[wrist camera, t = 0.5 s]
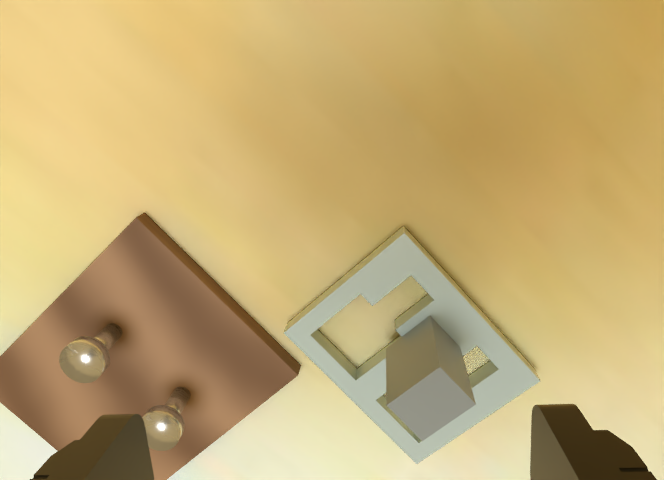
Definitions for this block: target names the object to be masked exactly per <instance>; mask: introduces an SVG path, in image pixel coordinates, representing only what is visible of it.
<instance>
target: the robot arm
mask: <svg viewBox="0 0 664 480" xmlns="http://www.w3.org/2000/svg"><path fill="white" fill-rule="evenodd" d="M530 476H531V480H657V479H656V478H655V477H654V475H653V474H652V473H651V472H648V469H647V466H646V465H645V463H644V462H643V461H642V460H641V458H640V457H639V456H638V454H637V453H636V452H635V450H634V449H633V448H632V447H631V446H630V445H628V444H627V443H626V442H624V441H623V440H621V439H620V438H618V437H617V436H616V435H614V434H613V433H611V432H610V431H608V430H593V429H592V428H591V426H590V425H589V423H588V422H587V420H586V419H585V417H584V416H583V414H582V413H581V411H580V410H579V409H578V407H577V406H576V405H575V404H555V405H535V406H534V407H533V410H532V425H531V466H530ZM30 480H154V473H153V468H152V462H151V457H150V451H149V446H148V440H147V434H146V429H145V424H144V420H143V418H142V417H141V415H139V414H110V415H102V416H100V417H99V418H98V419H97V420H96V421H95V422H94V424H93V425H92V426H91V427H90V428H89V429H88V431H87V432H86V433H85V434H84V435H83V437H82V438H81V439H80V440H74V441H73V442H71V443H70V444H68V445H67V446H65V447H64V448H62V449H61V450H59V451H58V452H56V453H55V454H53V455H52V456H51V457H50V458H49V459H48V460H47V461H46V462H45V463H44V464H43V465H42V467H41V468H40V469H39V470H38V471H37V472H36V473H35V474H34V478H33V479H30Z"/></svg>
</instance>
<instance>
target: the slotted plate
mask: <svg viewBox="0 0 664 480" xmlns="http://www.w3.org/2000/svg"><path fill="white" fill-rule="evenodd" d="M409 276H412V277H413V278H414V279H415V280H416V281H417V282H418V283H419V284H420V285H421V286H422V287H423V288H424V290H425V291H426V292H427V293H428V295H426V296H425V297H424V298H422V299H421V300H420V301H419V302H417V303H416V304H415V305H413V306H412V307H411V308H410V309H408V310H407V311H406V312H404V313H403V314H402V315H401V316H399V317H398V318H397V319H395V330H396V331H397V332H398V333H399V334H400V336H399V337H398V338H396V339H395V340H394V341H393V342H391V343H390V344H389V345H387V346H386V347H385V348H383V349H382V350H381V351H379V352H378V353H377V354H376V355H374V356H373V357H372V358H370V359H369V360H368V361H366V362H365V363H364V364H363V365H361V366H360V367H359V368H356V367H355V366H354V365H353V364H352V363H351V362H350V361H349V360H348V359H347V358H346V357H345V356H344V355H343V354H342V353H341V352H340V351H339V350H338V349H337V348H336V347H335V346H334V345H333V344H332V343H331V342H330V341H329V340H328V339H327V338H326V337H325V336H324V335H323V334H322V333H321V332H320V331H319V330H318V328H319V327H321V326H322V325H323V324H324V323H325V322H327V321H328V320H329V319H330V318H332V317H333V316H334V315H335V314H337V313H338V312H339V311H340V310H341V309H343V308H344V307H345V306H346V305H348V304H349V303H350V302H351V301H352V300H354V299H355V298H356V297H357V296H359V295H360V294H361V295H362V296H363V297H364V298H365V299H366V300H367V301H368V302H369V303H370V304H371V305H372V306H373V305H374V304H376V303H377V302H378V301H379V300H381V299H382V298H383V297H384V296H386V295H387V294H388V293H389V292H391V291H392V290H393V289H394V288H396V287H397V286H398V285H399V284H401V283H402V282H403V281H404V280H406V279H407V278H408V277H409ZM284 334H285V335H286V336H287V337H288V338H289V339H290V340H291V341H292V342H293V343H294V344H295V345H296V346H297V347H298V348H299V349H300V350H301V351H302V352H303V353H304V354H305V355H306V356H307V357H309V358H310V359H311V360H312V361H313V362H314V363H315V364H316V365H317V366H318V367H319V368H320V369H321V370H322V371H323V372H324V373H325V374H326V375H327V376H328V377H329V378H330V379H331V380H332V381H333V382H334V383H335V384H336V385H337V386H338V387H339V388H340V389H341V390H342V391H343V392H344V393H345V394H346V395H347V396H348V397H349V398H350V399H351V400H352V401H353V402H354V403H355V404H356V405H357V406H358V407H359V408H360V409H361V410H362V411H363V412H364V413H365V414H366V415H367V416H368V417H369V418H370V419H371V420H372V421H373V422H374V423H375V424H376V425H377V426H379V427H380V428H381V429H382V430H383V431H384V432H385V433H386V434H387V435H388V436H389V437H390V438H391V439H392V440H393V441H394V442H395V443H396V444H397V445H398V446H399V447H400V448H401V449H402V450H403V451H404V452H405V453H406V454H407V455H408V456H409V457H410V458H411V459H412V460H413V461H414V462H415V463H416V464H418V463H419V462H421V461H422V460H424V459H425V458H427V457H428V456H430V455H431V454H433V453H434V452H436V451H437V450H439V449H440V448H441V447H443V446H444V445H446V444H447V443H449V442H450V441H452V440H453V439H455V438H456V437H458V436H459V435H461V434H462V433H464V432H465V431H467V430H468V429H470V428H471V427H473V426H474V425H476V424H477V423H479V422H480V421H482V420H483V419H485V418H486V417H488V416H489V415H491V414H492V413H494V412H495V411H497V410H498V409H499V408H501V407H502V406H504V405H505V404H507V403H508V402H510V401H511V400H513V399H514V398H516V397H517V396H519V395H520V394H522V393H523V392H525V391H526V390H528V389H529V388H531V387H532V386H534V385H535V384H537V383H538V382H540V379H539V377H538V375H537V373H536V371H535V369H534V368H533V367H532V366H531V364H530V363H529V362H528V361H527V360H526V359H525V358H524V357H523V356H522V355H521V354H520V352H519V351H518V350H517V349H516V348H515V347H514V346H513V345H512V344H511V343H510V342H509V340H508V339H507V338H506V337H505V336H504V335H503V334H502V333H501V332H500V331H499V330H498V328H497V327H496V326H495V325H494V324H493V323H492V322H491V321H490V320H489V319H488V318H487V316H486V315H485V314H484V313H483V312H482V311H481V310H480V309H479V308H478V307H477V306H476V305H475V303H474V302H473V301H472V300H471V299H470V298H469V297H468V296H467V295H466V294H465V293H464V291H463V290H462V289H461V288H460V287H459V286H458V285H457V284H456V283H455V282H454V281H453V279H452V278H451V277H450V276H449V275H448V274H447V273H446V272H445V271H444V270H443V269H442V267H441V266H440V265H439V264H438V263H437V262H436V261H435V260H434V259H433V258H432V257H431V255H430V254H429V253H428V252H427V251H426V250H425V249H424V248H423V247H422V246H421V245H420V243H419V242H418V241H417V240H416V239H415V238H414V237H413V236H412V235H411V234H410V233H409V231H408V230H407V229H406V228H405V227H404V226H403V227H402V228H400V229H399V230H398V231H397V232H396V233H394V234H393V235H392V236H391V237H390V238H388V239H387V240H386V241H385V242H384V243H383V244H381V245H380V246H379V247H378V248H377V249H375V250H374V251H373V252H372V253H371V254H369V255H368V256H367V257H366V258H365V259H363V260H362V261H361V262H360V263H359V264H357V265H356V266H355V267H354V268H353V269H351V270H350V271H349V272H348V273H347V274H345V275H344V276H343V277H342V278H341V279H339V280H338V281H337V282H336V283H335V284H333V285H332V286H331V287H330V288H329V289H327V290H326V291H325V292H324V293H323V294H321V295H320V296H319V297H318V298H317V299H316V300H314V301H313V302H312V303H311V304H310V305H308V306H307V307H306V308H305V309H304V310H302V311H301V312H300V313H299V314H298V315H296V316H295V317H294V318H293V319H292V320H290V321H289V322H288V323H287V326H286V328H285V331H284ZM476 346H478V347H479V348H480V350H481V351H482V352H483V353H484V354H485V355H486V356H487V357H488V358H489V359H490V361H489V362H488V363H486V364H485V365H483V366H482V367H480V368H479V369H478V370H476V371H475V372H473V373H472V374H471V375H469V376H468V374H467V370H466V366H465V363H464V359H463V356H464V355H465V354H467V353H468V352H469V351H471V350H472V349H473V348H475V347H476ZM385 393H386V397H385V396H384V395H383V394H385Z"/></svg>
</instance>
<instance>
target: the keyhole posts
mask: <svg viewBox="0 0 664 480" xmlns="http://www.w3.org/2000/svg"><path fill="white" fill-rule="evenodd" d="M121 336H122V329H121V328H120V327H119V326H118V325H117V324H113V323H111V324H108V325H107V326H106V327H105V328H104V329H102V330H101V331H100V332H99V333H98V334H97V335H96V336H95V337H94V338H93V337H90V336H81V337H78V338H76V339H74V340H73V341H72V342H71V343H70V344H68V345H67V346H66V347H65V348H64V349H63V350H62V351H61V353H60V357H59V363H60V366H61V369H62V370H63V372H64V373H65V374H66V375H67V376H68V377H69V378H70V379H72V380H74V381H76V382H79V383H91V382H93V381H95V380H97V379H98V378H99V377H100V376H101V374H102V373H103V372H104V371H105V370H106V369H107V368H108V366H109V364H110V354H109V351H108V350H109V349H110V348H111V347H112V346H113V345H114V344H115V343H116V342H117V341H118V340H119V339H120V338H121ZM190 396H191V395H190V392H189V390H188V389H186V388H185V387H177V388H175V390H174V391H173V393H172V394H171V396H170V397H169V399H168V400H167V402H166V403H165V405H156V406H153V407H151V408H150V409H148V410H147V412H146V413H145V414H144V416H143V417H142V418H143V420H144V424H145V429H146V434H147V440H148V446H149V448H151V449H154V450H157V451H166V450H169V449H172V448H173V447H174V446H175V445H176V444H177V443H178V441H179V439H180V437H181V435H182V434H183V432H184V429H185V423H184V419H183V417H182V416H181V413H182V411H183V409H184V407H185V406H186V404H187V402H188V401H189V399H190Z"/></svg>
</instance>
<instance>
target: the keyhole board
mask: <svg viewBox="0 0 664 480" xmlns="http://www.w3.org/2000/svg"><path fill="white" fill-rule="evenodd" d="M111 323H113V324H117V325H118V326H119V327H120V328H121V329H122V336H121V338H120V339H119V340H118V341H117V342H116V343H115V344H114V345H113V346H112V347H111V348H110V349H109V350H108V351H109V354H110V364H109V366H108V368H107V369H106V370H105V371H104V372H103V373H102V374H101V376H100V377H99V378H98V379H97V380H95V381H93V382H91V383H79V382H76V381H74V380H72V379H70V378H69V377H68V376H67V375H66V374H65V373H64V372H63V370H62V369H61V366H60V363H59V357H60V353H61V351H62V350H63V349H64V348H65V347H66V346H67V345H68V344H70V343H71V342H72V341H73V340H74V339H76V338H78V337H81V336H90V337H93V338H94V337H95V336H96V335H97V334H98V333H99V332H100V331H101V330H102V329H104V328H105V327H106V326H107V325H108V324H111ZM300 366H301V365H300V364H299V363H298V362H297V361H296V360H295V359H293V358H292V357H291V356H290V355H289V354H288V353H287V352H286V351H285V350H284V349H283V348H282V347H281V346H280V345H279V344H278V343H277V342H276V341H275V340H274V339H273V338H272V337H271V336H270V335H269V334H268V333H267V332H266V331H265V330H264V329H263V328H262V327H261V326H260V325H259V324H258V323H257V322H256V321H255V320H254V319H253V318H252V317H251V316H250V315H249V314H248V313H246V312H245V311H244V310H243V309H242V308H241V307H240V306H239V305H238V304H237V303H236V302H235V301H234V300H233V299H232V298H231V297H230V296H229V295H228V294H227V293H226V292H225V291H224V290H223V289H222V288H221V287H220V286H219V285H218V284H217V283H216V282H215V281H214V280H213V279H212V278H211V277H210V276H209V275H208V274H207V273H206V272H205V271H204V270H203V269H202V268H201V267H199V266H198V265H197V264H196V263H195V262H194V261H193V260H192V259H191V258H190V257H189V256H188V255H187V254H186V253H185V252H184V251H183V250H182V249H181V248H180V247H179V246H178V245H177V244H176V243H175V242H174V241H173V240H172V239H171V238H170V237H169V236H168V235H167V234H166V233H165V232H164V231H163V230H162V229H161V228H160V227H159V226H158V225H157V224H156V223H155V222H154V221H152V220H151V219H150V218H149V217H148V216H147V215H146V214H145V213H143V214H141V215H140V216H138V217H136V218H135V219H134V220H133V221H132V222H131V223H130V225H129V226H128V227H127V228H126V229H125V230H124V231H123V232H122V233H121V234H120V235H119V236H118V237H117V238H116V239H115V240H114V241H113V242H112V243H111V244H110V245H109V246H108V247H107V248H106V249H105V250H104V251H103V252H102V253H101V254H100V255H99V256H98V257H97V258H96V259H95V260H94V261H93V262H92V263H91V264H90V265H89V266H88V267H87V268H86V270H85V271H84V272H83V273H82V274H81V275H80V276H79V277H78V278H77V279H76V280H75V281H74V282H73V283H72V284H71V285H70V286H69V287H68V288H67V289H66V290H65V291H64V292H63V293H62V294H61V295H60V296H59V297H58V298H57V299H56V300H55V301H54V302H53V303H52V304H51V305H50V306H49V307H48V308H47V309H46V310H45V311H44V312H43V313H42V314H41V316H40V317H39V318H38V319H37V320H36V321H35V322H34V323H33V324H32V325H31V326H30V327H29V328H28V329H27V330H26V331H25V332H24V333H23V334H22V335H21V336H20V337H19V338H18V339H17V340H16V341H15V342H14V343H13V344H12V345H11V346H10V347H9V348H8V349H7V350H6V351H5V352H4V353H3V354H2V355H1V356H0V402H1V403H2V404H3V405H4V406H5V407H7V408H8V409H9V410H10V411H11V412H13V413H14V414H15V415H16V416H17V417H18V418H20V419H21V420H22V421H23V422H24V423H25V424H27V425H28V426H29V427H30V428H31V429H33V430H34V431H35V432H36V433H37V434H38V435H40V436H41V437H42V438H43V439H44V440H46V441H47V442H48V443H49V444H50V445H51V446H53V447H54V448H55V449H56V450H57V451H59V450H61V449H62V448H64V447H65V446H67V445H68V444H70V443H71V442H73V441H74V440H80V439H81V438H82V437H83V435H84V434H85V433H86V432H87V431H88V429H89V428H90V427H91V426H92V425H93V424H94V422H95V421H96V420H97V419H98V418H99V417H100V416H102V415H110V414H139V415H141V417H143V416H144V414H145V413H146V412H147V410H148V409H150V408H151V407H153V406H156V405H165V403H166V402H167V400H168V399H169V397H170V396H171V394H172V393H173V391H174V390H175V388H177V387H185V388H186V389H188V390H189V392H190V395H191V396H190V399H189V401H188V402H187V404H186V406H185V407H184V409H183V411H182V413H181V416H182V417H183V419H184V423H185V429H184V432H183V434H182V435H181V437H180V439H179V441H178V443H177V444H176V445H175V446H174V447H173V448H172V449H169V450H166V451H157V450H154V449H151V448H149V451H150V457H151V462H152V468H153V473H154V480H166V479H168V478H169V477H170V476H172V475H173V474H174V473H175V472H177V471H178V470H179V469H180V468H182V467H183V466H184V465H185V464H187V463H188V462H189V461H190V460H192V459H193V458H194V457H195V456H197V455H198V454H199V453H201V452H202V451H203V450H204V449H206V448H207V447H208V446H209V445H211V444H212V443H213V442H214V441H216V440H217V439H218V438H219V437H221V436H222V435H223V434H225V433H226V432H227V431H228V430H230V429H231V428H232V427H233V426H235V425H236V424H237V423H238V422H240V421H241V420H242V419H243V418H245V417H246V416H247V415H248V414H250V413H251V412H252V411H254V410H255V409H256V408H257V407H259V406H260V405H261V404H262V403H264V402H265V401H266V400H267V399H269V398H270V397H271V396H272V395H274V394H275V393H276V392H278V391H279V390H280V389H281V388H283V387H284V386H285V385H286V384H288V383H289V382H290V381H291V380H293V379H294V378H295V377H296V376H298V374H299V370H300Z"/></svg>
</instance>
